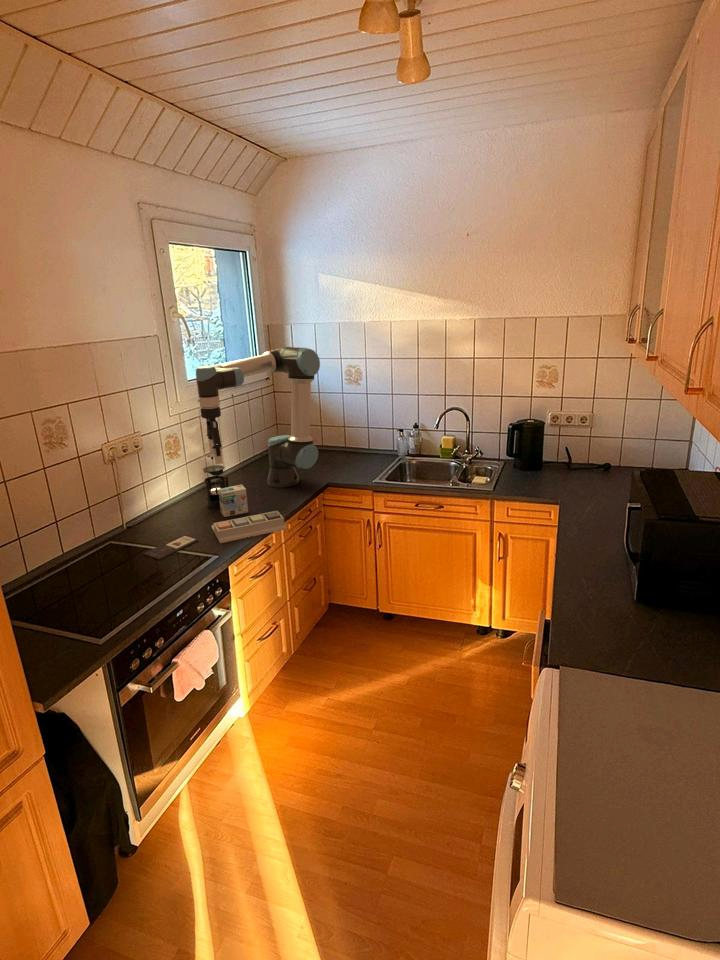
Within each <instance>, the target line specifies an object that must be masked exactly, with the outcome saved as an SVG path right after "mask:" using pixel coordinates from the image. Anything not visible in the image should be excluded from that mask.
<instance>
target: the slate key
mask: <svg viewBox="0 0 720 960" xmlns="http://www.w3.org/2000/svg"><path fill="white" fill-rule="evenodd" d="M240 518H241V519H237V518H235V519H236V520H234V525H235V526H236V527H238V526H243V525H248V522H247V520H246V519H245V518H243V517H240Z"/></svg>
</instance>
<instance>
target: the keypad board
mask: <svg viewBox="0 0 720 960" xmlns="http://www.w3.org/2000/svg"><path fill="white" fill-rule="evenodd" d="M272 512H277V513H278V514H279V515H280V518H278V519H273V520H268V519H267V518H266V513H272ZM256 515H262V517H263V518H264V521H263V522H258V523H253V524H252V522H251V521H250V517H251V516H256ZM241 518H245V519H246V520H247V522H248V525H243V526H238V527H236V526H235V525H234V520H236V519H241ZM226 521H229V523H230V524H231V528H228V529H223V530H219V528H218V527H217V523H221V522H226ZM211 530H213V532H214V534H215V536H216V538H217V540H218V542H219V544H223V543H227V542H228V543H229V542H233V541H238V540H242V539H247V537H248V538H252V537H256V536H261V535H265V534H270V533H276V532H279V531H284V530H287V526H286V525H285V517H284V516H283V515H282V514H281V513H280V511H278V510H273V511H269V512H264V513H259V514H254V515H248V516H244V517H239V518H233V519H228V520H222V521H218V522H213V524H212V525H211ZM251 536H252V537H251Z"/></svg>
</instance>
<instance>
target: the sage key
mask: <svg viewBox="0 0 720 960" xmlns="http://www.w3.org/2000/svg"><path fill="white" fill-rule="evenodd" d="M255 515H256V516H253V515H250V516H251V517H250V521H251V522H252V524H253V523H258V522H263V521H264V518H263V517H262V515H258V514H255Z"/></svg>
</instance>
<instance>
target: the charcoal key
mask: <svg viewBox="0 0 720 960" xmlns="http://www.w3.org/2000/svg"><path fill="white" fill-rule="evenodd" d="M271 512H272V513H268V512H265V513H266V518H267V519H268V520H273V519H278V518H280V515H279V514H278V513H277V512H273V511H271Z"/></svg>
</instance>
